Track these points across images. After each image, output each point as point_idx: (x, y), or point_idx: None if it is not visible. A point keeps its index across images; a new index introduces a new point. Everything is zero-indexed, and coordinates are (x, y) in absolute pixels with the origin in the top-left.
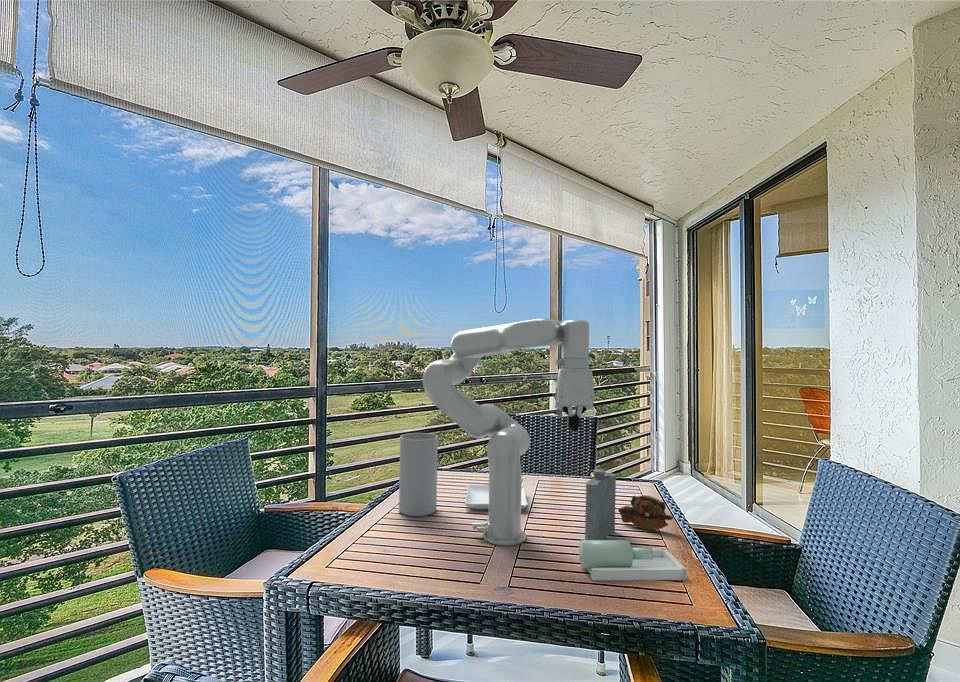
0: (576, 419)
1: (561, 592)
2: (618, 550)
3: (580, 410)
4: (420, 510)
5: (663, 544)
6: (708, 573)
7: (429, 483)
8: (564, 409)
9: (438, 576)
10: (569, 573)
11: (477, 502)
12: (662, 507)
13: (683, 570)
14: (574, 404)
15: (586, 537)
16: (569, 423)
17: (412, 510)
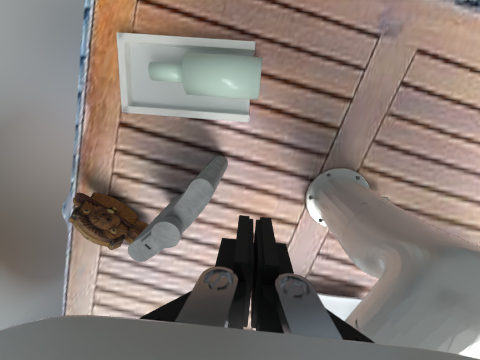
0: (246, 250)
1: (311, 11)
2: (206, 54)
3: (200, 308)
4: None
5: (116, 155)
6: (87, 56)
7: None
8: (370, 341)
9: (469, 76)
10: (280, 71)
11: (341, 318)
12: (78, 209)
13: (121, 33)
14: (302, 339)
15: (225, 162)
16: (286, 253)
17: None
